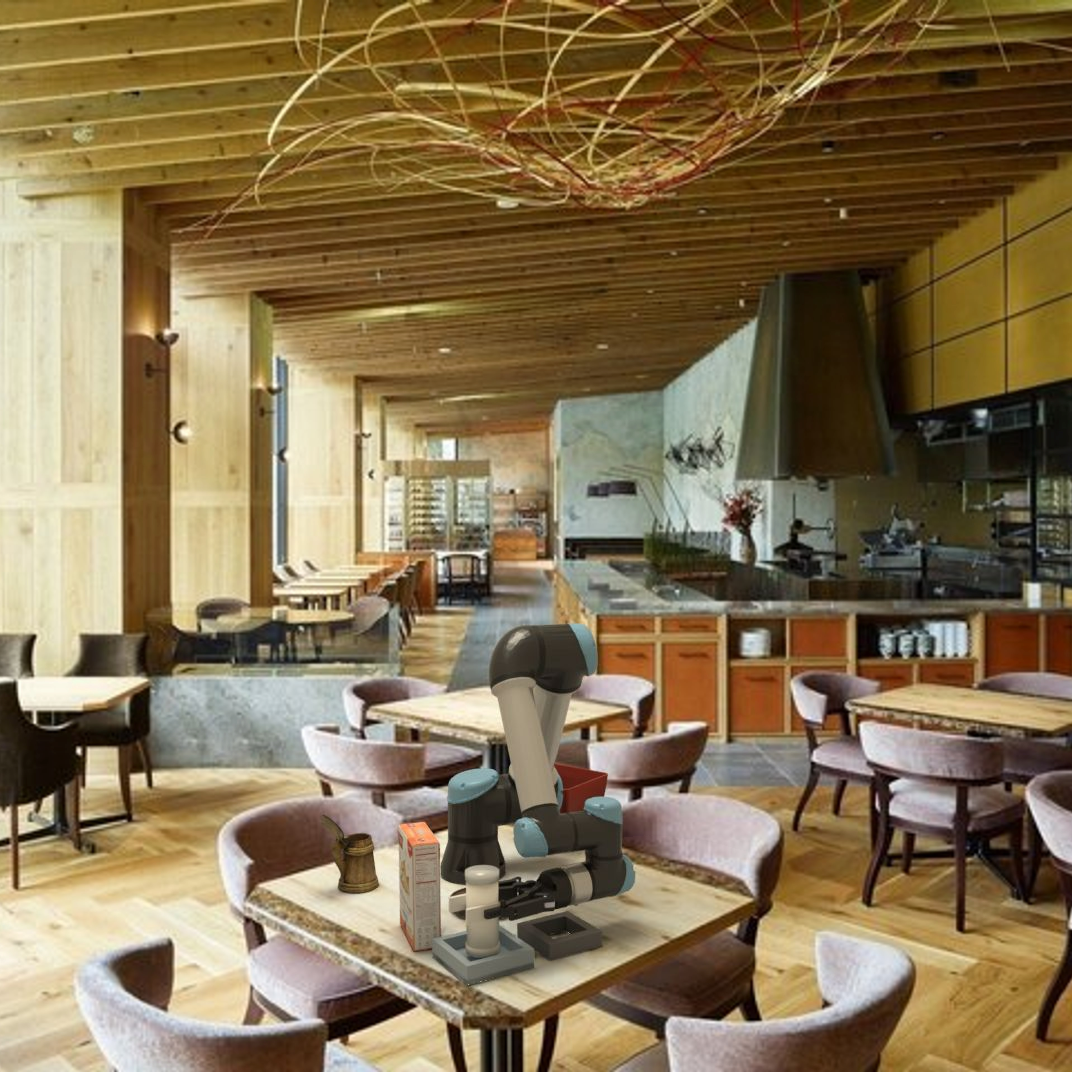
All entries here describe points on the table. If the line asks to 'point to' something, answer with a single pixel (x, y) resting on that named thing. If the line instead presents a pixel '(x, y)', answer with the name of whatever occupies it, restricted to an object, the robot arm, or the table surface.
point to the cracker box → (419, 884)
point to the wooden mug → (353, 859)
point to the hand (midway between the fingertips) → (458, 910)
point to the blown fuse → (479, 893)
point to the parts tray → (474, 970)
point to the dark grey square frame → (576, 942)
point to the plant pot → (579, 786)
